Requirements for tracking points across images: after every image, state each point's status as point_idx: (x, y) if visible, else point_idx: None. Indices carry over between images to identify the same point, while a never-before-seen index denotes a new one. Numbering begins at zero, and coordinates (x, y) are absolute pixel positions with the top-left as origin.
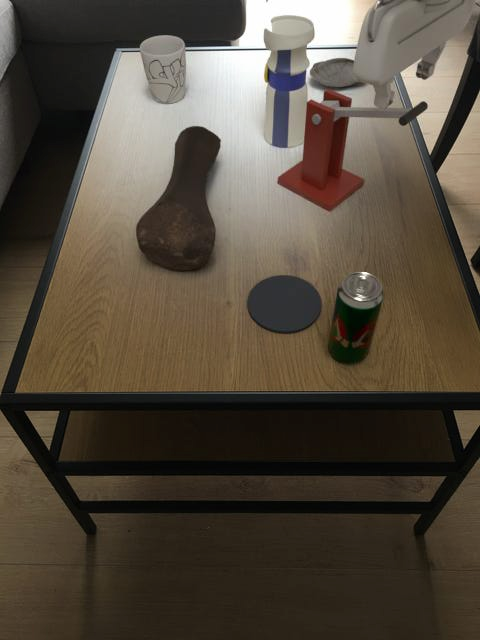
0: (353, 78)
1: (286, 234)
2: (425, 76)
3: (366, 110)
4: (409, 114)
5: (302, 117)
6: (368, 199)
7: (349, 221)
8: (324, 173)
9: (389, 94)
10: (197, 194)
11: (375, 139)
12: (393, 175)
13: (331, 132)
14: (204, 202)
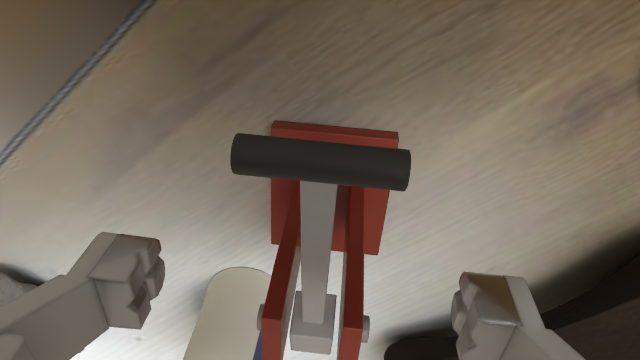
0: (23, 293)
1: (510, 164)
2: (151, 252)
3: (327, 277)
4: (372, 172)
5: (231, 312)
6: (308, 88)
7: (402, 84)
8: (363, 203)
9: (539, 333)
10: (587, 341)
11: (123, 173)
12: (196, 84)
13: (351, 275)
14: (596, 322)
